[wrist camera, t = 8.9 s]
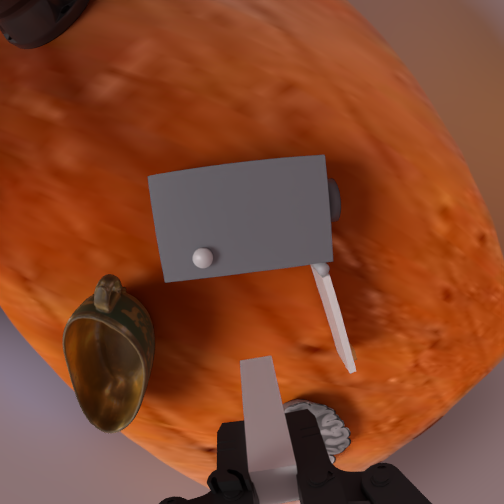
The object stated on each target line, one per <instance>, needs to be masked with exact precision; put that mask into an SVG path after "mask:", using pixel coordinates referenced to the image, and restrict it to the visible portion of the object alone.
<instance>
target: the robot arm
mask: <svg viewBox="0 0 504 504" xmlns="http://www.w3.org/2000/svg"><path fill="white" fill-rule="evenodd" d="M88 2H89V0H0V30H1V31H2V33H3V34H4V36H5V38H6V39H7V40H8V41H9V42H10V43H11V44H13V45H15V46H17V47H19V48H22V49H32V48H36V47H39V46H41V45H44V44H46V43H48V42H49V41H51V40H53V39H54V38H56V37H57V36H59V35H60V34H61V33H62V32H64V31H65V30H66V29H67V28H68V27H69V26H70V25H71V24H72V23H73V22H74V21H75V20H76V19H77V18H78V17H79V15H80V14H81V13H82V12H83V10H84V9H85V7H86V6H87V4H88ZM240 369H241V383H242V396H243V410H244V421H236V422H228V423H222V425H221V427H220V428H219V430H218V432H217V470H215V471H213V472H212V473H211V475H210V476H209V477H208V480H207V484H208V486H209V488H210V490H211V491H210V492H208V493H207V494H205V495H203V496H200V497H197V498H194V499H190V500H186V499H184V498H182V497H169V498H166V499H164V500H163V501H161V502H160V503H159V504H279V503H285V502H291V501H297V500H300V504H432V503H431V502H430V501H429V500H428V499H427V498H426V497H425V496H424V495H423V494H422V493H421V492H420V491H419V490H418V489H417V488H416V487H415V486H414V485H413V484H412V483H411V482H410V481H409V480H408V479H407V478H406V477H405V476H404V475H403V474H402V473H401V471H399V469H398V468H396V467H395V466H393V465H392V464H388V463H377V464H375V465H372V466H370V467H369V468H368V469H366V470H365V471H363V472H347V471H343V470H340V469H338V468H336V467H335V466H334V465H333V464H332V463H331V461H330V458H329V455H328V452H327V449H326V446H325V444H324V441H323V438H322V435H321V432H320V429H319V427H318V423H317V420H316V417H315V415H314V414H313V413H311V412H310V411H309V410H308V409H303V410H298V411H294V412H288V413H284V409H283V405H282V401H281V396H280V392H279V388H278V383H277V379H276V374H275V370H274V366H273V361H272V357H271V356H266V357H260V358H254V359H248V360H241V361H240Z"/></svg>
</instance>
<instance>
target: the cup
mask: <svg viewBox="0 0 504 504" xmlns="http://www.w3.org/2000/svg"><path fill="white" fill-rule="evenodd" d="M154 350H155V336H154V327H153V324H152V321H151V318H150V315H149V313H148V311H147V310H146V308H145V307H144V306H143V305H142V304H141V302H140V301H138V300H137V299H136V298H135V297H134V296H132V295H130V294H128V293H126V288H125V287H122V285H121V282H120V280H119V278H118V277H116V276H114V275H111V274H108V275H105V276H103V277H102V279H100V280H99V282H98V284H97V286H96V288H95V292H94V294H93V295H92V296H90V297H89V298H87V299H86V300H85V301H84V302H83V303H82V304H81V305H80V306H79V307H78V308H77V309H76V310H75V312H74V313H73V314H72V316H71V317H70V319H69V320H68V322H67V324H66V326H65V329H64V333H63V351H64V356H65V360H66V363H67V367H68V371H69V374H70V378H71V381H72V384H73V388H74V391H75V394H76V397H77V399H78V402H79V404H80V407H81V408H82V411H83V413H84V414H85V415H86V417H87V419H88V420H89V422H90V423H91V424H93V425H94V426H95V427H96V428H98V429H99V430H101V431H103V432H106V433H116V432H119V431H121V430H123V429H124V428H126V427H127V426H128V425H129V424H130V423H131V422H132V421H133V420H134V418H135V416H136V415H137V413H138V411H139V409H140V406H141V404H142V401H143V397H144V394H145V391H146V388H147V384H148V381H149V377H150V373H151V369H152V365H153V359H154Z"/></svg>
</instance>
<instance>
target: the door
mask: <svg viewBox="0 0 504 504" xmlns="http://www.w3.org/2000/svg"><path fill="white" fill-rule="evenodd" d="M310 265H311V268H312V271H313V274H314V277H315V281H316V284H317V287H318V290H319V293H320V296H321V299H322V302H323V306H324V309H325V312H326V315H327V319H328V322H329V325H330V328H331V332H332V335H333V338H334V342H335V345H336V349H337V352H338V354H339V355H340V357H341V359H342V361H343V362H344V364H345V366H346V368H347V369H348V371H349V373H350V374H351V373H353V372H355V371H356V368H355V364H354V361H355V360H357V358H356V354H355V350H354V348H353V347H352V345H351V344H349V341H348V337H347V334H346V330H345V326H344V323H343V319H342V316H341V312H340V308H339V305H338V302H337V298H336V295H335V291H334V288H333V285H332V281H331V278H330V275H329V274H328V272H329V266H328V265H327V264H326V263H317V264H310Z"/></svg>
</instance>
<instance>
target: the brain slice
mask: <svg viewBox="0 0 504 504" xmlns="http://www.w3.org/2000/svg"><path fill="white" fill-rule="evenodd" d="M283 409H284V413H288V412H294V411H298V410H303V409H308V410H309V411H310V412H311V413H313V414H314V415H315V417H316V420H317V423H318V427H319V429H320V432H321V435H322V438H323V441H324V444H325V446H326V449H327V452H328V455H329V458H330V461H331V463H332V464H333V463H334V462H335V461H336V458H335V457H334V456H333V455H335V454H339V453H341V452H343V451H344V450H345V449H346V448H347V447H348V446H349V445H350V443H351V440H350V438H348V437H349V436H350V430H349V429H348V428H347V427H344V422H343V421H342V420H341V419H340V418H339V416H338V415H336V411H334V410H333V409H332V408H330V407H327V406H326V405H322V404H318V403H314V402H311V401H308V400H299V399H295V400H292V401H289V402H287V403H284V404H283Z"/></svg>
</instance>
